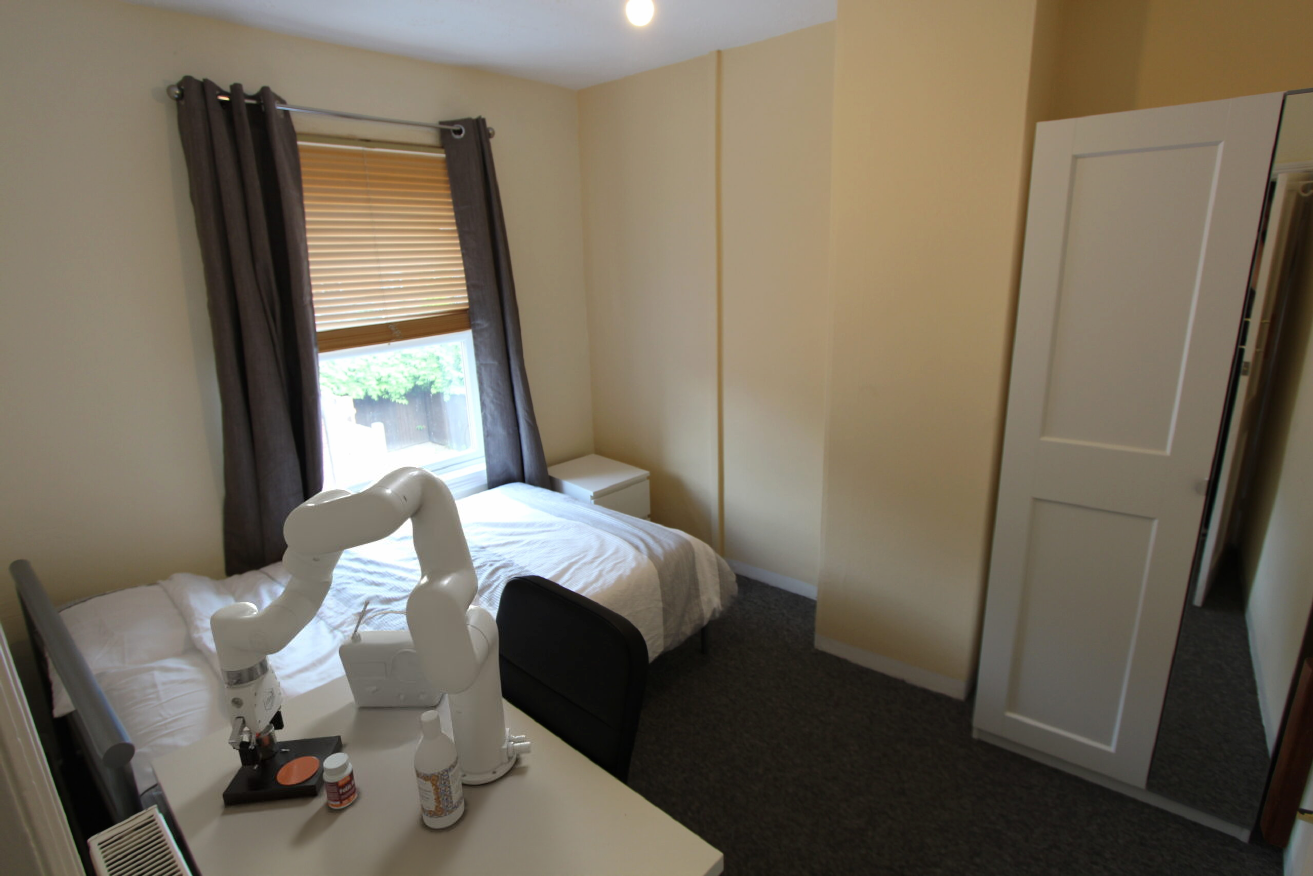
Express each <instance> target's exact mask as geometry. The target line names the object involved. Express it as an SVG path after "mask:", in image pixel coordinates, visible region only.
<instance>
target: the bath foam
mask: <svg viewBox="0 0 1313 876" xmlns="http://www.w3.org/2000/svg"><path fill="white" fill-rule="evenodd" d="M420 726H421V732H422V736H421V737H420V740H419V742H418V744H417V745H416V748H415V751H414V756H413V758H414V759H413V763H414V771H415V777H416V778H415V779H416V783H417V791H418V797H419V803H420V808H421V815H422V819H423V822H424V824H425V825H426V826H428V827H429V828H432V829H439V830H440V829H444V828H447V827H450V826H452V825H454V824H455V823H456V822H457V821H459V819H460V818H461V817H462V816H463V814H464V811H465V800H464V791H463V783H461V776H460V769H459V762H458V755H457V750H456V747H455V742H454V740H453V739H452V738H451V737H450V736H449V735H448V734H447V733H446V732H444V731H443V730H442V725H441V719H440V713H439V712H438V711H437V710H434V709H433V710H428V711H425V712H424V713H423V714H421V716H420Z"/></svg>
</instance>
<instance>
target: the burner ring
mask: <svg viewBox="0 0 1313 876" xmlns="http://www.w3.org/2000/svg"><path fill="white" fill-rule="evenodd" d="M318 768H319V761H318V759H317V758H315V757H310V756H307V757H301V758H298V759H295V760H293V761H291V762H289V763H287V764H286V765H285V766H284V767H282V768H281V770H280V771H279V772H278V775H277V781H278V782H279V783H280V784H282V785H295V784H298V783H301V782H303V781H305V780H307V779H308V778H310V777H311V776H312V775H314V774H315V772H316V771H317V770H318Z"/></svg>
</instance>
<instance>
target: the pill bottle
mask: <svg viewBox="0 0 1313 876" xmlns="http://www.w3.org/2000/svg"><path fill="white" fill-rule="evenodd" d="M323 767H324V774H323V780H324V784H323V785H324V790H325V794H326V799H327V804H328V806H329V807H330V808H332V809H334V810H340V809H344V808H346V807H348V806H350V805H351V804H352V803H353V802H354V801H355V800H356V799H357V796H358V792H357V786H356V785H357V784H356V780H355V774H354V769H353V765H352V763H350V759H349V755H348V754H347V753H345V752H339V753H336V754H333V755H331V756H329V757H328V758H327V759H326V760H325V761H324V763H323Z"/></svg>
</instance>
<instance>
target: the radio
mask: <svg viewBox="0 0 1313 876" xmlns="http://www.w3.org/2000/svg"><path fill="white" fill-rule="evenodd" d="M370 602H371V600H370V599H366V600H365V601H364V606H363V608H362V610H361V613H360V615H359V618H358V620H357V623H356V624H355V627H354V629H353V631H352V632H351V633H350V634H349V635H348V636H347V638H345V640H344V641H343V642H342V643H341V644H340V645H339V647H338V656H339V659H340V661H341V665H342V667H343V670H344V673H345V676H346V679H347V682H348V685H349V687H350V690H351V693H352V696H353V700H354V702H355V704H356V706H358V707H360V708H400V707H401V708H405V707H406V708H407V707H409V708H412V707H415V708H416V707H418V708H419V707H421V708H422V707H435V706H438V704H439V702H440V700H441V699H442V697H443V695H444V693H442V692H440V691H438V690H436V689H435V688H434V687H433V686H432V685H431V684H430V683H429V682H428V681H427V679H426V677H425V676H424V673H423V671H422V668H421V666H420V663H419V659H418V656H417V653H416V650H415V647H414V644H413V641H412V638H411V634H410V631H409V629H395V630H392V629H389V630H387V629H386V630H359V627H360V626H361V625H362V624H364V622H366V621H367V620H369V619H371V618H374V617H376V616H380V615H386V614H395V615H396V614H397V615H403V616H406V611H403V610H384V611H378V612H376V613H374V614H371V615H369V616H368V617H366V618H365V619H364V620H363V617H364V616H365V613H366V610H367V608H368V606H369V605H370Z"/></svg>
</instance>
